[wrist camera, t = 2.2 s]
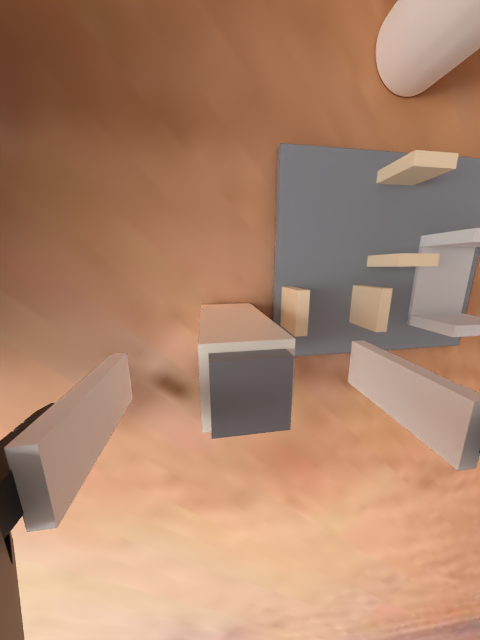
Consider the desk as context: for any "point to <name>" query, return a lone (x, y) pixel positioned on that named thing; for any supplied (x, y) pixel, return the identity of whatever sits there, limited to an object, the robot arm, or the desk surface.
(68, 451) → the robot arm
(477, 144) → the desk surface
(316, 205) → the board
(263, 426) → the block
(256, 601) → the desk surface
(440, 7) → the mug
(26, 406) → the desk surface
